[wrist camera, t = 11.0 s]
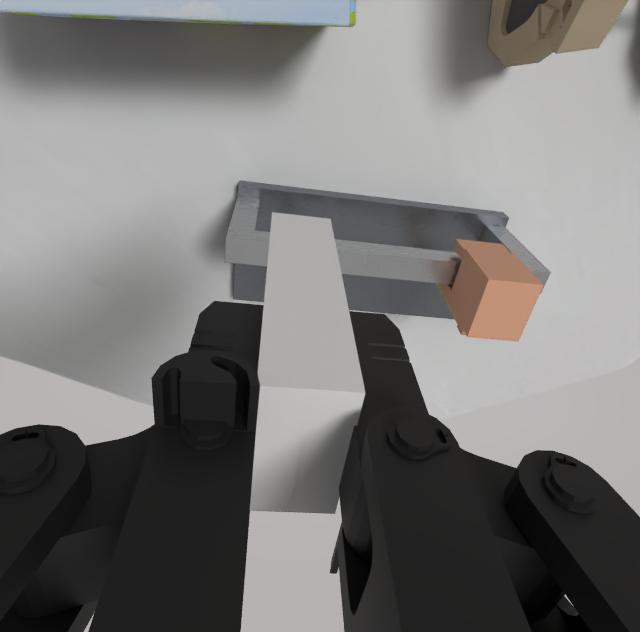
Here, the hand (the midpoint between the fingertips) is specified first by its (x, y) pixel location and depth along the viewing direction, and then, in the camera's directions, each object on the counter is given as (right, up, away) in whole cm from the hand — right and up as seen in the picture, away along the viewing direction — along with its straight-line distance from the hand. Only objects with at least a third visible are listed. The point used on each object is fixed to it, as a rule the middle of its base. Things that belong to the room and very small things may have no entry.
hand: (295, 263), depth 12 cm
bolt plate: (+5, +5, +36) cm, 36 cm away
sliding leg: (+13, +6, +33) cm, 36 cm away
